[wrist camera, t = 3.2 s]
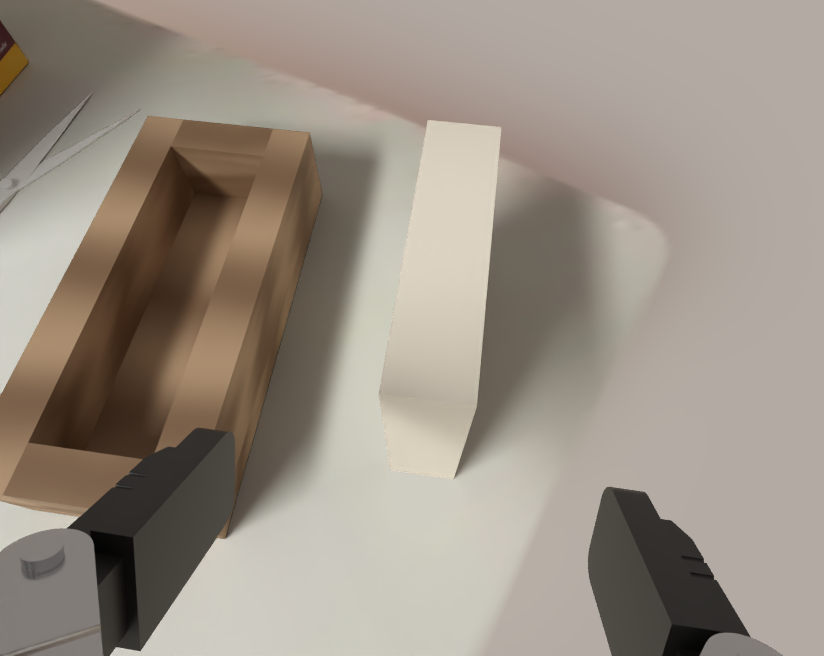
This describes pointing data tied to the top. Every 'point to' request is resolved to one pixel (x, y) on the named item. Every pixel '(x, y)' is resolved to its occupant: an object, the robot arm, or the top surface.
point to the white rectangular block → (441, 302)
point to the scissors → (32, 170)
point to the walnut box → (162, 312)
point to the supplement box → (9, 59)
